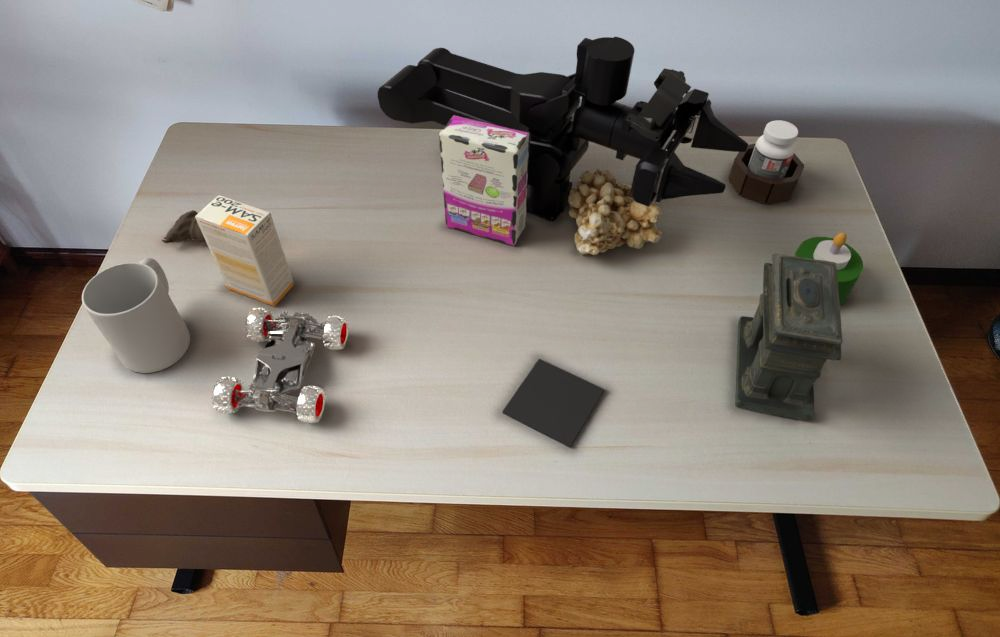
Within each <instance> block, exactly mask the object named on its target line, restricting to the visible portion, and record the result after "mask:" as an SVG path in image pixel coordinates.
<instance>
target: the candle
mask: <svg viewBox="0 0 1000 637" xmlns="http://www.w3.org/2000/svg"><path fill="white" fill-rule="evenodd" d="M847 236H848V235H847V234H846V233H845V232H839V233H837V235H835V236H834V237H833V238H832V237H828V236H813V237H809V238H807V239H805V240H803V241H802V242H801V243H800V244H799V245H798V247H797V250H796V251H795V255H794V256H795V257H802V258H809V259H816V260H823V261H830V262H835V263H836V267H837V276H838V288H839V300H840V307H841V306H842V305H843V304H844V303H845V302H846V300H847V298H848V297H849V295H850V293H851V292H852V290H853V288H854V287H855V285H856V283H857V282H858V279H859V278H860V276H861V275H862V273H863V271H864V262H863V258H862V256H861V255H860V254H859V252H858V251H856V249H855V248H853V247H852V246H851V245H849V244H847V239H848V237H847Z"/></svg>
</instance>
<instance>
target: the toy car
mask: <svg viewBox="0 0 1000 637" xmlns="http://www.w3.org/2000/svg"><path fill="white" fill-rule="evenodd" d="M288 313H289V312H288V310H284V311H282V312H281V313H279V314H278V315H277V317H275V318H274V315H273V312H272V311H271V310H269V309H268V308H265V307H254V308H251V309H250V311H249V312H248V315H247V316H246V321H245V327H244V328H245V333H246V337H247V338H248V340H251V341H253V342H255V341H256V342H260V343H263V342H266V344H265V346H264V347H262V348H261V349H259V350H258V353H257V355H256V357H255V366H254V374H253V378H252V382H251V383H249V384H248V390H245V386H244V382H242V379H239V378H238V377H237V376H235V377H234V376H230V375H228V376H222V377H221V378H220V377H219V378H218V379H219V380H217V381H216V384H215V385H214V388H213V391H212V397H211V399H212V403H211V405H213V409H215V411H218V413H221V414H222V413H223V414H227V415H229V414H235V413H236V412H238V411H239V410H240V409H241V407H243V408H255V410H256V411H259V412H265V413H266V412H267V413H275V412H276V410H277V411H282V412H287V413H288V412H290V413H293V414H296V416H297V419H298V421H301V422H303V423H304V424H316V423H319V421H320V420H322V419H321V418H322V417H323V414H324V411H325V406H326V393H325V390H324V388H323V387H320V386H318V385H316V386H315V385H307V386H303V388H301V387H302V384H303V381H304V378H305V377H306V376H305V375H306V373H307V371H308V368H309V365H310V362H311V360H312V357H313V354H314V352H315V349H316V345H315V343H314V342H313V341H310V340H309V339H308V338H312V339H317V340H320V341H321V342H322V343H323V345H324V347H325V348H326V349H327V348H328V350H333V351H341V350H343V349H344V348H345V347H346V344H347V342H348V339H349V329H350V328H349V321H348V319H347V318H346V317H345V316H342V315H335V314H334V315H331V316H328V317H327V318H326V320H325V323H324V322H321V323H320V322H319V321H318V319H316V318H314V317H313V315H310V313H307V312H306V313H305V312H295V313H294V314H293V315H289V314H288ZM284 325H285V326H284ZM272 335H273V336H272ZM274 335H281V336H274ZM299 389H301V390H300V391H299V394H298V397H296V396H293V395H289V393H292V392H295V391H298V390H299ZM252 402H254V403H252ZM282 406H286V407H282Z"/></svg>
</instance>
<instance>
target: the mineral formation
mask: <svg viewBox="0 0 1000 637" xmlns="http://www.w3.org/2000/svg"><path fill="white" fill-rule="evenodd" d="M578 180H579V181H578V182H577V185H576V187H574V188H572V189H571V190H570V194H569V196H568V198H569V199H568V202H569V207H570V208H571V209H570V210H569V211H568V214H569V216H570V217H571V218H573V219H574V218H575V221H576V222H575V223H576V226H577V227H578V228H577V231H576V232H575V233H574V243H575V246H576V250H577V252H579V255H580V256H584V255H588V254H590V255H592V256H596V255H597V256H598V255H599V253H605V252H607V251H608V250H609V249H610V250H613V249H615V247H617V248H618V247H619V248H620V247H622V245H625V244H627V247H629V248H634V249H642V248H643V246H644V244H645V243H649V242H651V243H653V244H655V243H658V242H659V241H660V239H661V237H662V236H661V235H662V231H661V230H659V229H658V228H657V225H656V223H657V222H658V220H659V219H660V217H661V215H662V210H661V209H660V207H659V205H656V203H655V202H654V201H653V202H652V203H651V205H650V206H649V207H647V206H645V205H642V204H639V203H637V202H635V201H634V199H633V198H632V196H631V195H630V190H631V187H630V185H628V184H625V183H623V182H620V181H618V182H617V178H616V176H615V175H614V174H613V171H610V170H609V169H605V170H604V171H603V170H602V169H601V168H596V169H594V171H593V172H592V171H590V170H586V171H584V172H582V174H580V176H579V177H578Z"/></svg>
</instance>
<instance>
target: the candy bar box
mask: <svg viewBox="0 0 1000 637" xmlns="http://www.w3.org/2000/svg"><path fill="white" fill-rule="evenodd" d="M438 139H439V140H438V141H439V153H440V164H441V165H440V166H441V181H442V191H443V192H442V193H443V205H444V206H443V207H444V219H445V220H444V221H445V227H446V228H449V229H453V230H455V231H456V230H457V231H458V232H459V231H460V232H463V233H466V234H470V235H474V236H478V237H481V238H485V239H487V240H492V241H495V242H499V243H502V244H506V245H510V246H513V247H515V245H516V244H517V242H518V240H519V239H520V237H521V236H522V233H523V232H524V230H525V228H526V226H527V212H526V207H527V178H528V154H529V133H527V132H523V131H519V130H514V129H510V128H506V127H502V126H497V125H493V124H489V123H484V122H480V121H476V120H472V119H467V118H463V117H459V116H455V115H454V116H453V117H452V118H451V119H450V121H449V122H448V124H447V125H446V126H444V127H443V128H442V129H441V131H440V132H439V133H438Z"/></svg>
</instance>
